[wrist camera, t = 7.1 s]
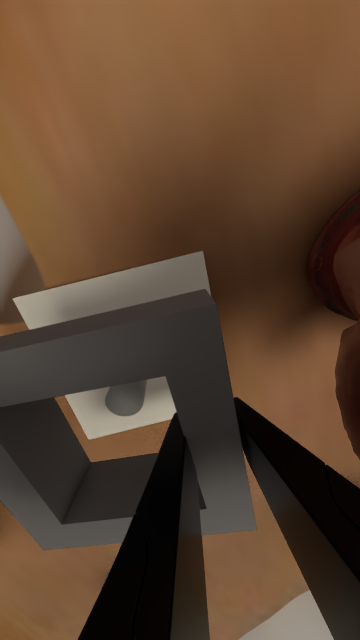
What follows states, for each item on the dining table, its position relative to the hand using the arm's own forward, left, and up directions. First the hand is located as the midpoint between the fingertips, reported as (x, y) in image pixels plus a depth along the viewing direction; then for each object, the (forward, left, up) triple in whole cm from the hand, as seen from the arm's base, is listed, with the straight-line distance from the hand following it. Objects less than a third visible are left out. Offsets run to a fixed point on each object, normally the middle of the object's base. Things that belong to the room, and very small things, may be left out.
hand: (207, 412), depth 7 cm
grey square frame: (-4, 0, -1) cm, 4 cm away
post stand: (-4, 0, -8) cm, 9 cm away
